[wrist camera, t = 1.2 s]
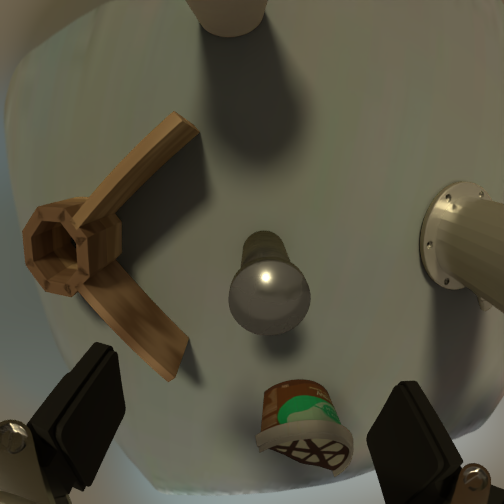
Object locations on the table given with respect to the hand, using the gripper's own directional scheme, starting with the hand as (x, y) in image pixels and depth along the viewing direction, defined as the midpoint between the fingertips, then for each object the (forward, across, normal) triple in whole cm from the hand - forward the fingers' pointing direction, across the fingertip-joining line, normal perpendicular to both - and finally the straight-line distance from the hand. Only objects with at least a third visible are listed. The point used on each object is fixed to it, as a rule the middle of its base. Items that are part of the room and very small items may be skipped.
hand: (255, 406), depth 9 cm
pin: (+20, -1, +1) cm, 21 cm away
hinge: (+20, +10, +1) cm, 22 cm away
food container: (+21, -9, +18) cm, 29 cm away
